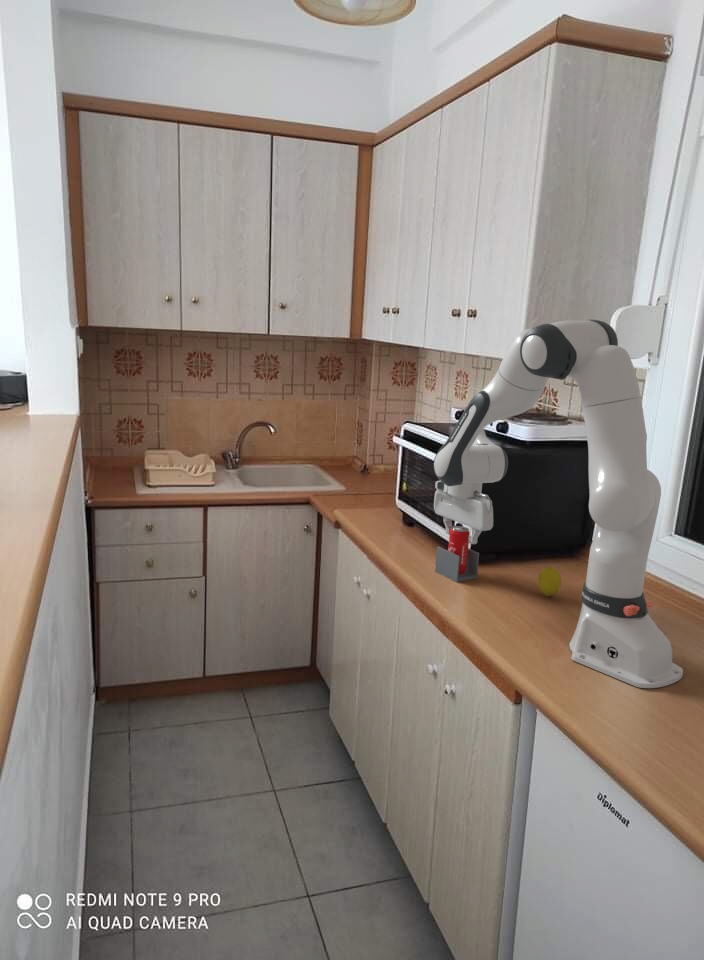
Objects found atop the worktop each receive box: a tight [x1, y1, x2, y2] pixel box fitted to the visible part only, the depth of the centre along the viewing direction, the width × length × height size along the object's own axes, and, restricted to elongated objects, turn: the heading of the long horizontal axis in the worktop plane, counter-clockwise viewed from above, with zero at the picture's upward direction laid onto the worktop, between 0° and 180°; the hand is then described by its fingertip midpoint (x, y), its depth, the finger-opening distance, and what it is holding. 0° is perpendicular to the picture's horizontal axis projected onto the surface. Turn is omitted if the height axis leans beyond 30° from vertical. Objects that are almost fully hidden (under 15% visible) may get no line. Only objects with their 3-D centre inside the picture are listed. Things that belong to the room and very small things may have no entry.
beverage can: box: [447, 525, 470, 574], centre depth 190 cm, size 5×5×12 cm
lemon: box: [537, 565, 562, 597], centre depth 179 cm, size 6×6×8 cm
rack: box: [434, 546, 480, 583], centre depth 191 cm, size 9×7×7 cm
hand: (460, 538), depth 189 cm, fingers open, 8 cm apart
